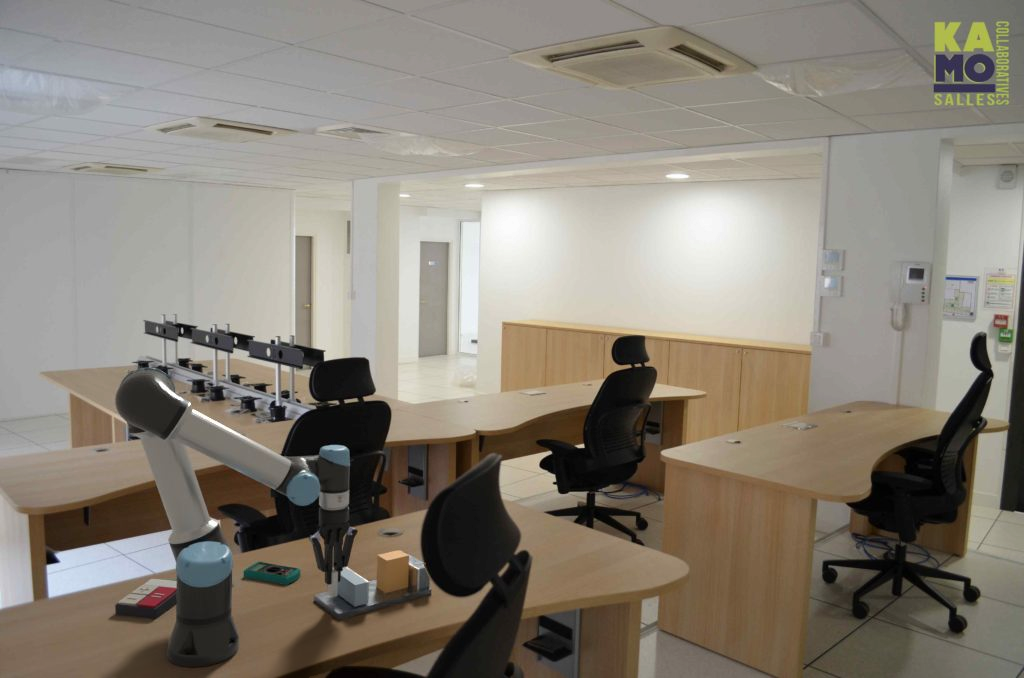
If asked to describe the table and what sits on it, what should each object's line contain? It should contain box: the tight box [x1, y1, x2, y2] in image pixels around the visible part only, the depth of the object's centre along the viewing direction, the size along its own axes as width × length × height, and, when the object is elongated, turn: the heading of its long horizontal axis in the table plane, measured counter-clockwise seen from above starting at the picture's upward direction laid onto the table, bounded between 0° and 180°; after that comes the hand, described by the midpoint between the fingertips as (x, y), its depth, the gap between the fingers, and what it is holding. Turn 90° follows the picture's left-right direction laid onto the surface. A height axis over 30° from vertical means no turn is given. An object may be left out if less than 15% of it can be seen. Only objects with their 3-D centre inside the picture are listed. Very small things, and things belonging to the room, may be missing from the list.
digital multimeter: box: [243, 561, 301, 586], centre depth 215 cm, size 7×15×3 cm, turn 74°
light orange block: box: [376, 549, 410, 593], centre depth 208 cm, size 7×5×9 cm
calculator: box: [114, 578, 177, 620], centre depth 194 cm, size 11×4×15 cm
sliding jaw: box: [337, 566, 370, 607], centre depth 200 cm, size 4×12×6 cm, turn 40°
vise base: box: [313, 552, 432, 621], centre depth 204 cm, size 28×14×8 cm, turn 130°
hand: (332, 594), depth 196 cm, fingers closed
